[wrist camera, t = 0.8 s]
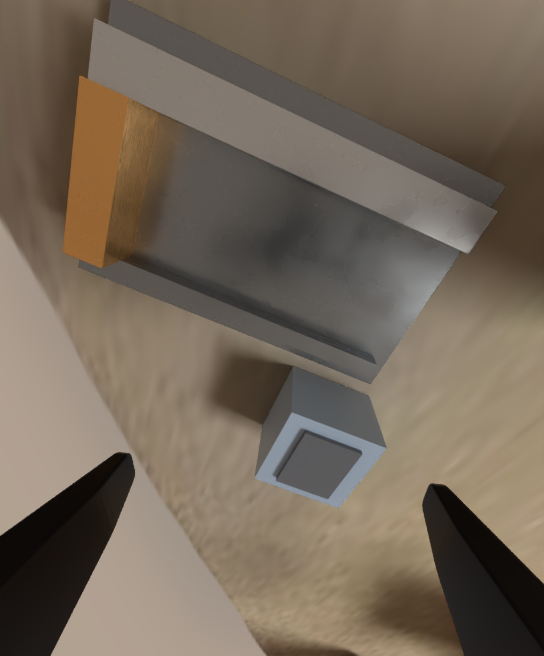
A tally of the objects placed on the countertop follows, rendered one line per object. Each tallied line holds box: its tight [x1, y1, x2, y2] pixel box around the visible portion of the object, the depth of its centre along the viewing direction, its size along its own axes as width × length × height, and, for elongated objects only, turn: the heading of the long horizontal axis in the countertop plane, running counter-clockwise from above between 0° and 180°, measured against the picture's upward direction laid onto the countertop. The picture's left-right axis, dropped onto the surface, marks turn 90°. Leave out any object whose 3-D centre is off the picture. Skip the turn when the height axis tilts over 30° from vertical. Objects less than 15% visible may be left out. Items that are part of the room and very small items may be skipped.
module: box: [255, 366, 387, 508], centre depth 21 cm, size 6×6×5 cm
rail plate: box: [63, 0, 506, 384], centre depth 16 cm, size 20×13×4 cm, turn 68°
